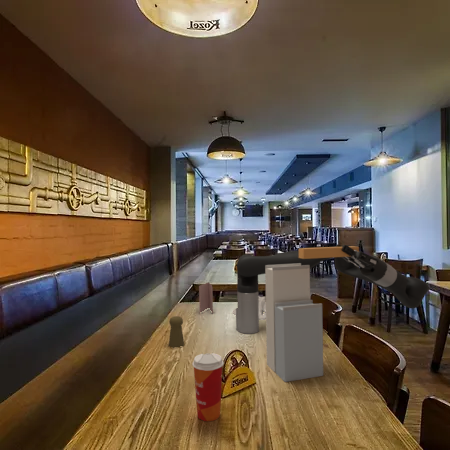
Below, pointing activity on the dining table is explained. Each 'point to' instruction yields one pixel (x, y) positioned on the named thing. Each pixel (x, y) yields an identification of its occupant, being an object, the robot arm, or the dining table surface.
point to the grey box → (298, 340)
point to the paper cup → (208, 385)
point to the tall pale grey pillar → (283, 296)
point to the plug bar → (323, 252)
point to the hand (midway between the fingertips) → (339, 247)
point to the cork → (176, 332)
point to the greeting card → (205, 297)
